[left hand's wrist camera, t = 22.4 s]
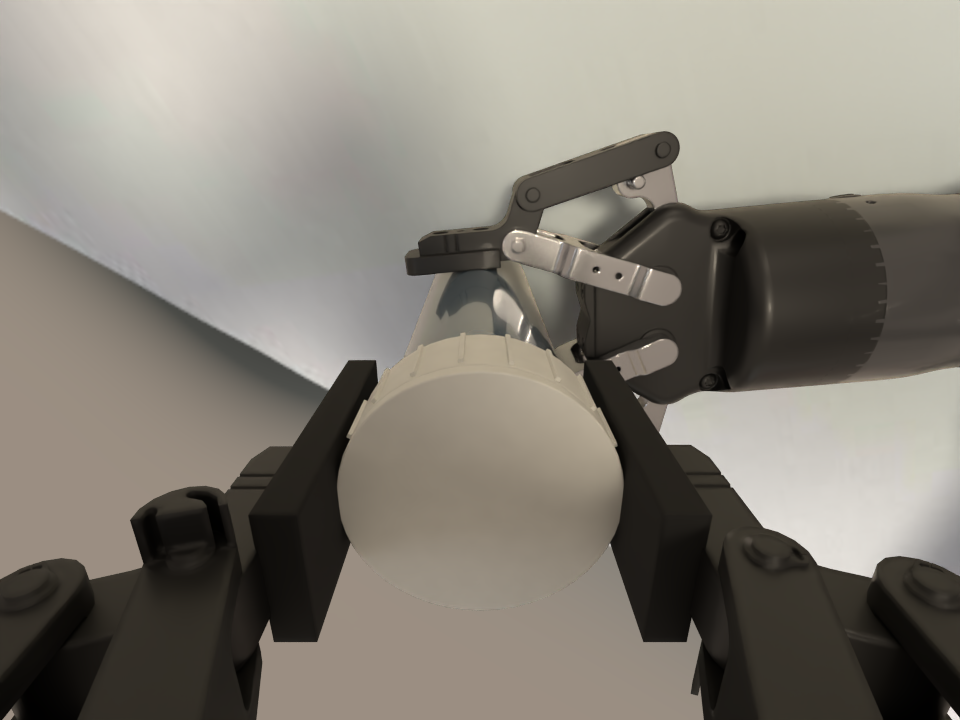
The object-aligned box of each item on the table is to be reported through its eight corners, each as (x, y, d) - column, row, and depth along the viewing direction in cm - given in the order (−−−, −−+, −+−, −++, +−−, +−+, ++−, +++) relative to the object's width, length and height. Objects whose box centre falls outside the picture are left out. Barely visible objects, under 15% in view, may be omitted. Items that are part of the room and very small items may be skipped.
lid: (331, 346, 11) (298, 387, 9) (598, 313, 11) (625, 348, 9) (383, 554, 13) (366, 625, 11) (608, 531, 13) (632, 599, 11)
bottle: (417, 267, 27) (322, 432, 11) (502, 224, 26) (537, 332, 10) (460, 346, 29) (434, 593, 12) (541, 307, 28) (627, 518, 12)
